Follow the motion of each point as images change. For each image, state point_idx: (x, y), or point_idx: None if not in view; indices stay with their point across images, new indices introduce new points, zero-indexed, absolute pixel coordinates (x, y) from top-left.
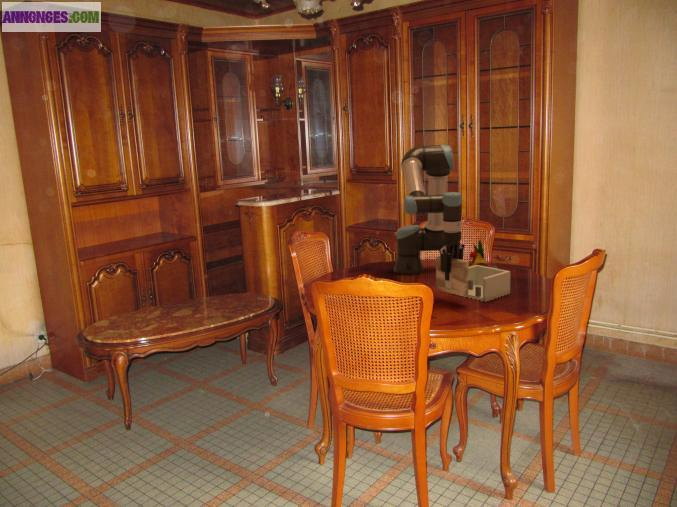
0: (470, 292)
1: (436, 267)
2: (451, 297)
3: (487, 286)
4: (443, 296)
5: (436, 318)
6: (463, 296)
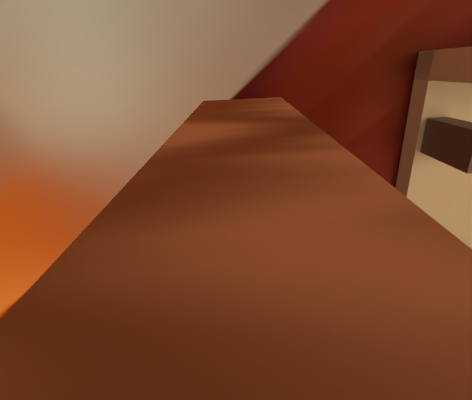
0: (458, 185)
1: (142, 178)
2: (339, 115)
3: None
4: (324, 54)
5: (11, 306)
6: (401, 161)
